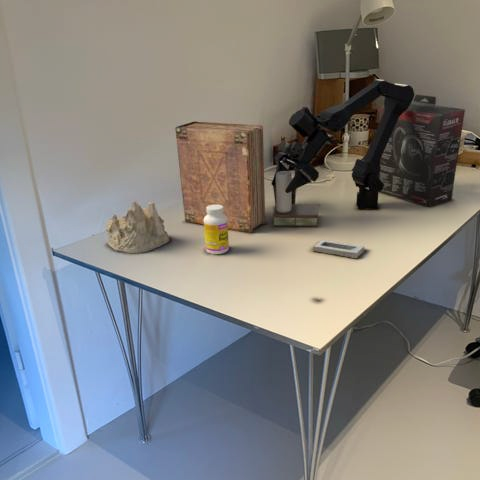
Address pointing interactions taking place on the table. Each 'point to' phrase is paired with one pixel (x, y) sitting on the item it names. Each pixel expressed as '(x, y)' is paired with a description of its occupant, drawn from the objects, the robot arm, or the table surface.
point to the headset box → (422, 153)
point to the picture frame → (339, 249)
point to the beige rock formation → (137, 230)
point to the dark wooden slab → (298, 216)
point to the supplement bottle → (216, 230)
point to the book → (222, 172)
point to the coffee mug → (292, 193)
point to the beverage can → (283, 192)
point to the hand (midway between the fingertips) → (279, 188)
